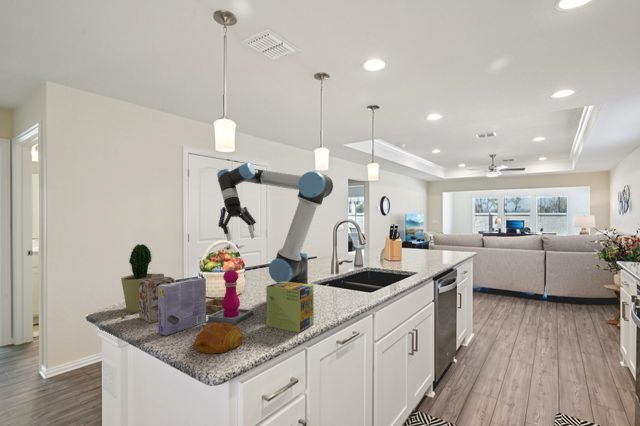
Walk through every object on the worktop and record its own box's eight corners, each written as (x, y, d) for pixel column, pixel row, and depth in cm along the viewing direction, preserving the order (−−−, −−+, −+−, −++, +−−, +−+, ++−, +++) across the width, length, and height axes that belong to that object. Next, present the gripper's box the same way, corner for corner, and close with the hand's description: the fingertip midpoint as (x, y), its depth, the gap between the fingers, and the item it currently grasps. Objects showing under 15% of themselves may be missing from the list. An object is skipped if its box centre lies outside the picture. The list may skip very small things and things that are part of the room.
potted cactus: (114, 314, 142) (113, 244, 142) (131, 304, 157) (130, 241, 157) (151, 313, 143) (150, 244, 143) (164, 303, 158) (164, 241, 158)
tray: (253, 314, 140) (253, 309, 140) (236, 324, 128) (236, 319, 128) (226, 311, 144) (226, 307, 144) (208, 321, 132) (208, 316, 132)
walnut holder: (235, 306, 152) (235, 300, 152) (220, 313, 142) (220, 306, 142) (214, 304, 156) (214, 298, 156) (199, 311, 145) (199, 304, 145)
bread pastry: (214, 341, 117) (212, 318, 118) (250, 341, 111) (248, 317, 112) (183, 356, 104) (180, 330, 105) (222, 357, 98) (219, 330, 99)
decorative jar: (148, 323, 130) (148, 278, 130) (138, 317, 138) (137, 274, 138) (178, 316, 139) (178, 273, 139) (167, 311, 146) (166, 270, 146)
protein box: (300, 333, 119) (300, 290, 119) (265, 326, 126) (265, 285, 126) (314, 324, 128) (314, 284, 128) (281, 318, 135) (281, 280, 135)
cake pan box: (200, 319, 135) (200, 276, 135) (209, 321, 132) (208, 277, 132) (156, 334, 118) (156, 285, 118) (165, 337, 116) (165, 286, 116)
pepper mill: (218, 315, 136) (218, 266, 136) (233, 311, 141) (233, 264, 141) (228, 318, 131) (227, 268, 131) (243, 314, 137) (243, 266, 136)
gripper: (247, 202, 176) (258, 239, 171) (204, 202, 158) (214, 244, 153) (255, 196, 172) (266, 234, 167) (212, 195, 153) (223, 238, 148)
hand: (241, 239), depth 160 cm, fingers open, 13 cm apart
